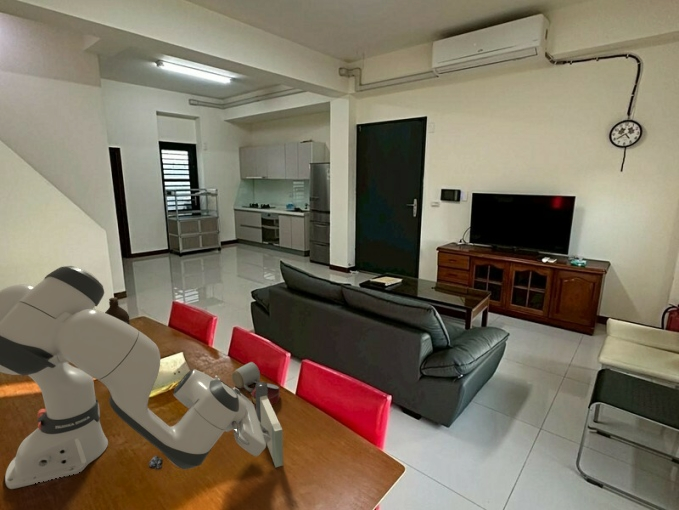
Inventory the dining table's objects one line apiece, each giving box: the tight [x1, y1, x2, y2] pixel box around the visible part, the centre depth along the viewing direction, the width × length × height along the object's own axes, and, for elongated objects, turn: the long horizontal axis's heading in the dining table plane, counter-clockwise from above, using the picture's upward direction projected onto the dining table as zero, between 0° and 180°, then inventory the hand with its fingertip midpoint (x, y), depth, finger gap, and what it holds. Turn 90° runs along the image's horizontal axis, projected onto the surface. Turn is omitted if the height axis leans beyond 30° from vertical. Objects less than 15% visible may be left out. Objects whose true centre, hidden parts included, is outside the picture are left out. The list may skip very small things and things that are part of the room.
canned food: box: [250, 380, 280, 406], centre depth 131 cm, size 11×10×10 cm
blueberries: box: [148, 455, 170, 470], centre depth 101 cm, size 7×8×2 cm
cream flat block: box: [260, 395, 284, 468], centre depth 106 cm, size 17×2×11 cm, turn 25°
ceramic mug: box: [231, 361, 261, 393], centre depth 138 cm, size 11×8×8 cm
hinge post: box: [254, 381, 268, 423], centre depth 115 cm, size 4×4×14 cm
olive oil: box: [104, 297, 131, 326], centre depth 163 cm, size 11×11×25 cm
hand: (267, 436), depth 102 cm, fingers closed
